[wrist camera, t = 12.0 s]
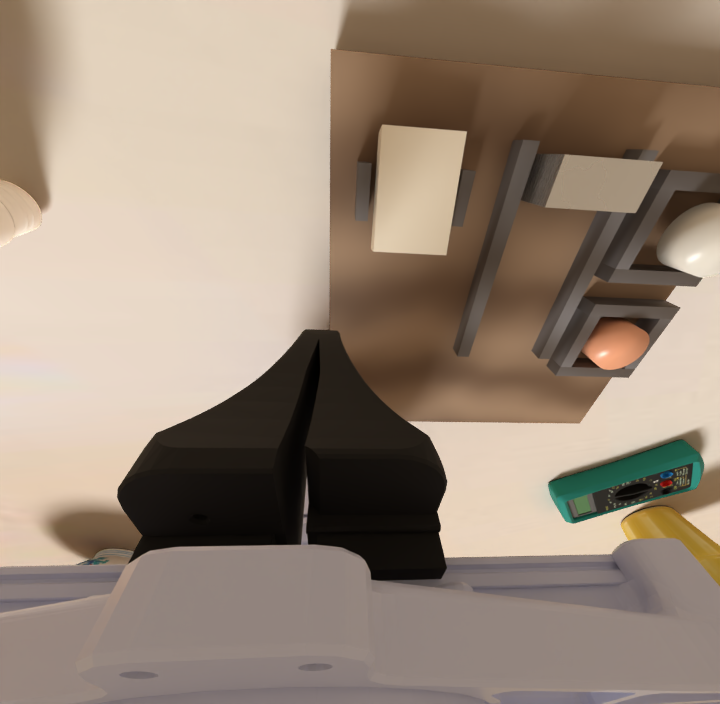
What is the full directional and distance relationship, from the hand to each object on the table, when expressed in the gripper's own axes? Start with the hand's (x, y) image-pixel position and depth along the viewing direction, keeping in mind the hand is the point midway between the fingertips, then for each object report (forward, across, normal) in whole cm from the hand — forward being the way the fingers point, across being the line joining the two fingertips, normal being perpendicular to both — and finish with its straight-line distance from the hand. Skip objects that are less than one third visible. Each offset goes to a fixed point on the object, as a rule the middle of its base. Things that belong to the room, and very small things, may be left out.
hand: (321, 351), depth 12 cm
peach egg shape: (+7, -19, +3) cm, 21 cm away
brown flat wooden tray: (+9, -11, +1) cm, 15 cm away
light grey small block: (+7, -12, -6) cm, 15 cm away
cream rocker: (+6, -4, -5) cm, 9 cm away
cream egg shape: (+6, -19, -4) cm, 20 cm away
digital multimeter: (+10, -34, +23) cm, 42 cm away
